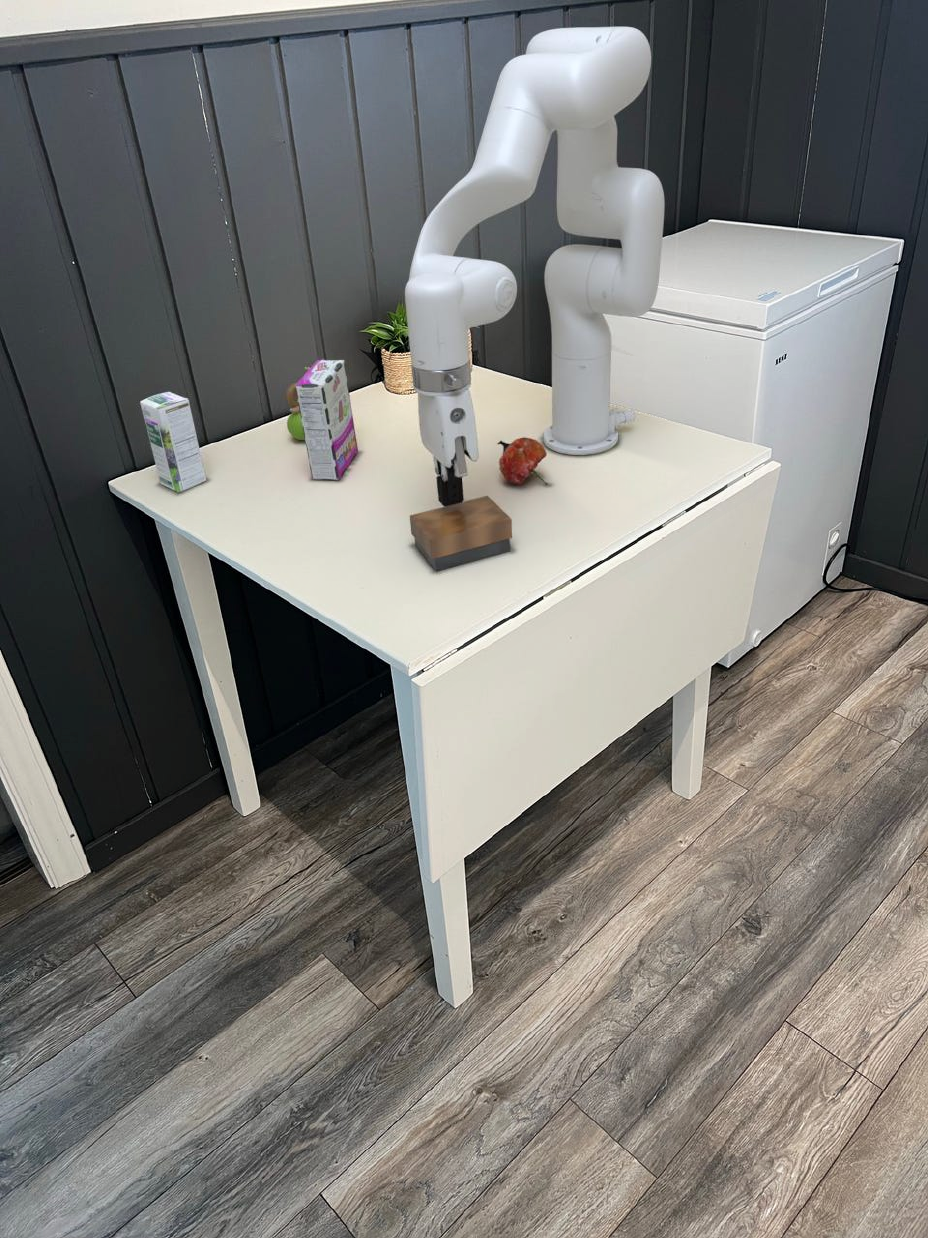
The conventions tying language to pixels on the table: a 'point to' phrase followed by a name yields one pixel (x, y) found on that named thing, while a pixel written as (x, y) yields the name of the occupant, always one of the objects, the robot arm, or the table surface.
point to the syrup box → (173, 441)
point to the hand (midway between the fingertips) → (451, 501)
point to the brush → (461, 532)
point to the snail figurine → (294, 413)
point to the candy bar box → (327, 419)
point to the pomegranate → (520, 459)
